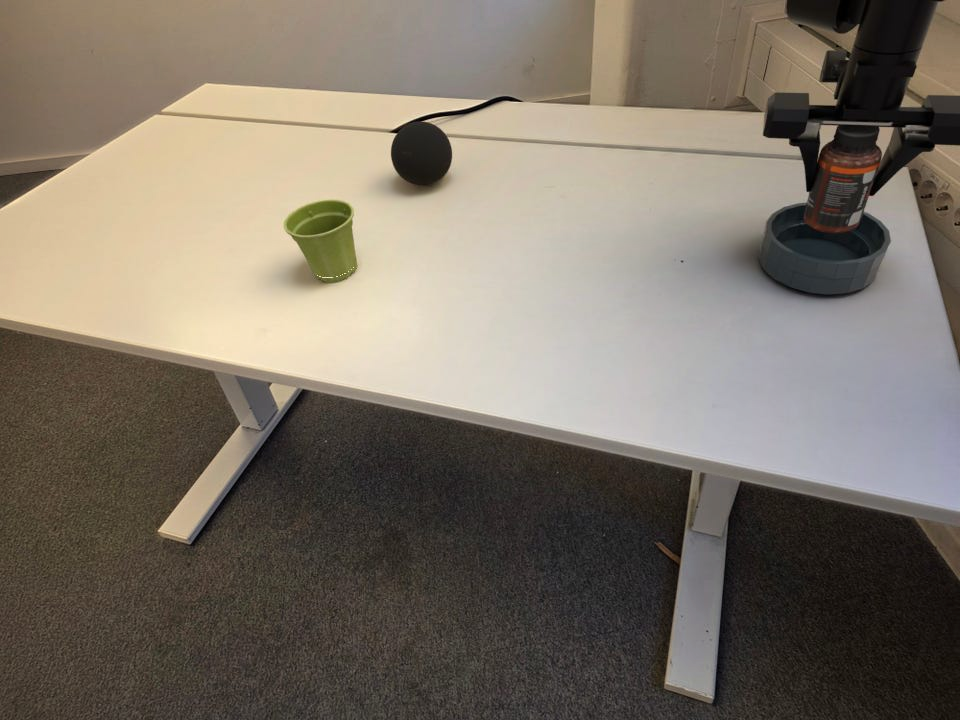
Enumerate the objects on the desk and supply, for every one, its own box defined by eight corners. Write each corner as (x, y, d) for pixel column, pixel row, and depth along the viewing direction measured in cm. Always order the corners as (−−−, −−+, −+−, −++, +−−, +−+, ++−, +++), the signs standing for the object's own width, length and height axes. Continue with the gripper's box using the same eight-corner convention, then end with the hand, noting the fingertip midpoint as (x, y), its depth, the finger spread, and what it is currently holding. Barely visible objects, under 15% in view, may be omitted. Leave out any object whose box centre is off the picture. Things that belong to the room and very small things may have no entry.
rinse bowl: (870, 240, 78) (884, 206, 74) (880, 305, 69) (896, 269, 66) (759, 231, 82) (767, 198, 78) (755, 290, 73) (764, 256, 70)
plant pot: (302, 260, 89) (282, 208, 83) (364, 245, 90) (349, 192, 84) (305, 297, 83) (284, 243, 77) (373, 280, 84) (357, 225, 78)
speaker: (402, 202, 98) (389, 143, 92) (394, 175, 106) (381, 118, 99) (461, 189, 99) (453, 129, 92) (449, 163, 107) (440, 106, 100)
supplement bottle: (868, 233, 69) (902, 136, 61) (813, 238, 69) (840, 143, 62) (846, 206, 73) (875, 112, 65) (794, 211, 74) (817, 119, 66)
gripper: (987, 15, 60) (925, 163, 71) (781, 19, 66) (753, 155, 77) (1014, 55, 53) (940, 213, 63) (780, 55, 59) (749, 199, 69)
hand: (839, 192), depth 68 cm, fingers closed on supplement bottle, 6 cm apart
